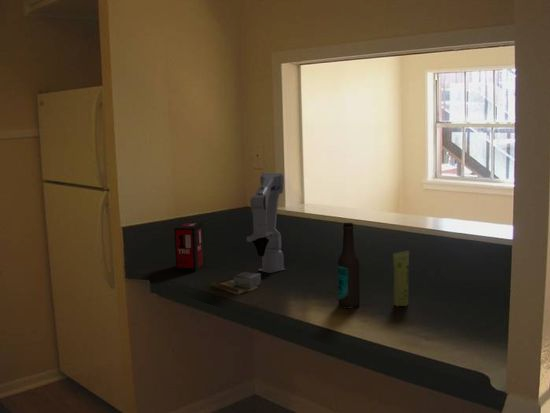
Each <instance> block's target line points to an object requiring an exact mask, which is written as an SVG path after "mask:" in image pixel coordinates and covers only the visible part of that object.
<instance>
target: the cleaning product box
mask: <svg viewBox="0 0 550 413" xmlns="http://www.w3.org/2000/svg"><path fill="white" fill-rule="evenodd" d="M173 230H174V248H175V249H174V250H175V268H176V270H175V271H176V273H196V272H197V271H198V270H200V269H201V268H202V267H203V266H204V264H206V261H205V260H206V259H205V240H204V239H205V238H204V237H205V236H204V222H203V221H184V222H182V223H180V224H178V226H176V227H174V228H173Z"/></svg>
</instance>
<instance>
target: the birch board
mask: <svg viewBox="0 0 550 413" xmlns="http://www.w3.org/2000/svg"><path fill="white" fill-rule="evenodd" d="M212 287H213V288H216V289H217V290H221V291H225V292H228V293H231V294H234V295H240V294H244V293H248V292H252V291H255V290H256V291H257V290H259V286H258V285H257V286H255V287H253V288H251V289H250V288H242V287H234V279H231V280H227V281H224V282H217V281H212Z"/></svg>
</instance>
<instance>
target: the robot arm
mask: <svg viewBox="0 0 550 413" xmlns="http://www.w3.org/2000/svg"><path fill="white" fill-rule="evenodd" d="M259 178H260V179H259V182H260V187H258V188H257V191H256V193H255V195H253V196H251V198H250V208H251V214H252V221H253V222H252V224H253V225H252V227H253V230H252V231H253V233H252V234H251V235H248V236H246V242H249V243H250V242H252V243H253V245H254V246H255V249H256V252H257V255H258V257H261V262H262V264H261V267H262V268H259V269H258V271H260V272H263V273H268V274H272V273H276V272H280V271H285V270H286V268H285V264H284V263H285V262H284V260H285V256H284V253H283V251H282V250H281V249H282V242H283V241H282V234H281V233H280V232H279V230H278V229H277V216H278V204H279V197H280V195H281V194H282V193H283V192H284V186H285V185H284V184H285V182H284V181H285V179H284V178H285V177H284V174H283V173H282V172H277V173H270V172H269V173H266V172H265V173H264V172H262V173H261V174H260V177H259Z"/></svg>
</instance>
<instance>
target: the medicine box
mask: <svg viewBox="0 0 550 413" xmlns="http://www.w3.org/2000/svg"><path fill="white" fill-rule="evenodd" d="M261 278H262V274H261V272H251V271H243V272H241V273H239V274H236V275H234V276H233V280H234V287H242V288H250V289H251V288H253V287H255V286H257V287H258V286H259V285H260V284H262V279H261Z"/></svg>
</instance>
